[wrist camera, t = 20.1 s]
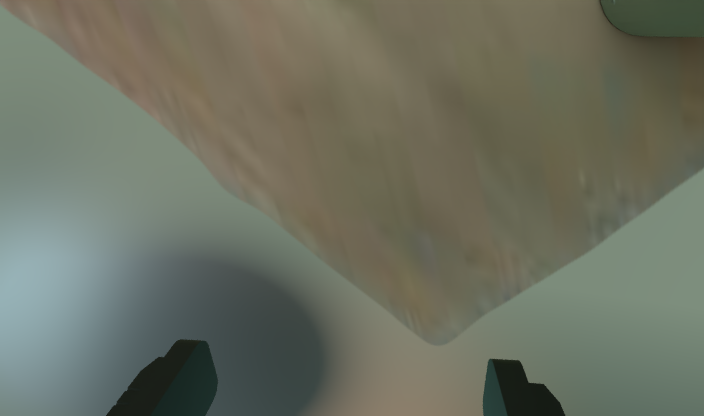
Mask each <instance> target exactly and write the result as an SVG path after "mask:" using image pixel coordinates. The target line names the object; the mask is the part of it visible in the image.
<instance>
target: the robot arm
mask: <svg viewBox="0 0 704 416" xmlns="http://www.w3.org/2000/svg"><path fill="white" fill-rule="evenodd" d="M601 5H602V7H603V10H604V13H605V15H606V16H607V18H608V19H609V21H610V22H611V23H612V24H613V25H614V26H616V27H617V28H618V29H619V30H621V31H623V32H626V33H628V34H631V35H637V36H663V37H704V0H601ZM217 384H218V379H217V374H216V371H215V367H214V363H213V360H212V356H211V353H210V349H209V346H208V343H207V342H206V341H201V340H183V339H180V340H178V341H176V342H175V344H174V345H173V346H172V347H171V349H170V350H169V352H168V353H167V354H166V355H165V357H158V358H157V359H155V361H153V362H152V363H151V364H149V365H148V366H147V367H145V368H144V369H143V370H142V371H140V373H139V374H138V375H137V377H136V378H135V379H134V380H133V382H132V383H131V384H130V386H129V387H128V390H127V391H125V392H124V393H123V395H122V396H121V397H120V398H119V400H118V401H117V404H116V405H114V406H113V407H112V409H111V410H110V411H109V412H108V414H107V415H106V416H205V415H206V413H207V411H208V410H209V408H210V406H211V404H212V402H213V400H214V397H215V395H216V391H217ZM483 415H484V416H565V414H564V411H563V409H562V407H561V404H560V402H559V401H558V400H557V399H556V398H555V397H554V396H553V394H552V393H551V392H550V391H549V390H548V389H547V388H546V386H545V385H544V384H536V383H528V380H527V377H526V374H525V372H524V369H523V366H522V364H521V362H520V361H518V360H502V359H489V361H488V366H487V373H486V381H485V388H484V395H483Z"/></svg>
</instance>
